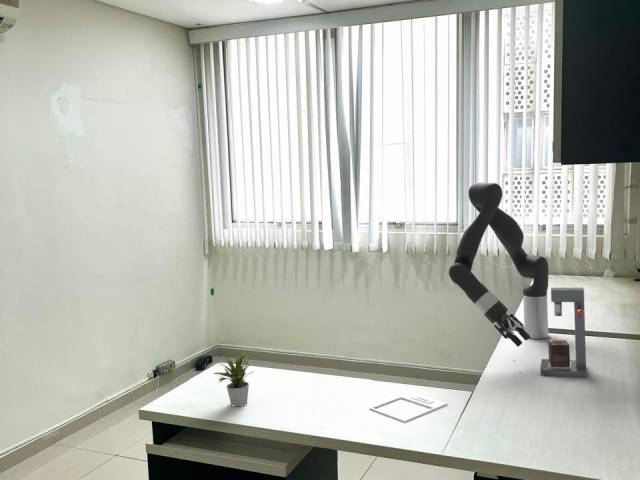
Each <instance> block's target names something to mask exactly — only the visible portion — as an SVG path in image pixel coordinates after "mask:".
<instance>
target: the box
mask: <svg viewBox="0 0 640 480" xmlns="http://www.w3.org/2000/svg"><path fill="white" fill-rule="evenodd" d="M547 346H548V347H547V349H548V352H547V353H548V359H549V362H550V364H551V366H570V360H571V353H570V351H571V350H570V343H568V341H567V340H566V339H565V340H564V339H563V340H562V339H561V340H552V339H551V340H547Z"/></svg>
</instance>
